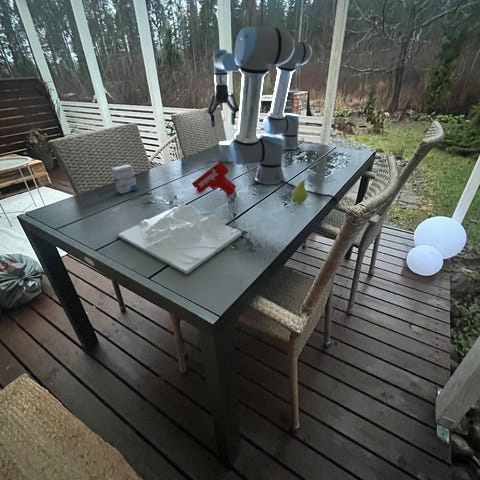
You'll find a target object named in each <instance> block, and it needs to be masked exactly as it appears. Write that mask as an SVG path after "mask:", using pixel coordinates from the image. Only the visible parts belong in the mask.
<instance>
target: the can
mask: <svg viewBox="0 0 480 480" xmlns="http://www.w3.org/2000/svg"><path fill="white" fill-rule="evenodd" d="M230 141H231V140H230ZM230 141H229V140H224V141H219V142H218V150H219V151H218V152H219V162H220V161H221V162H222V163H224V164H225V163H233V162H234V161H233V159H232V156H231V152H230Z"/></svg>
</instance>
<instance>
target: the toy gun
mask: <svg viewBox="0 0 480 480" xmlns="http://www.w3.org/2000/svg"><path fill="white" fill-rule="evenodd" d="M228 173H229V169H228V168H227V166H226V165H225V163H224V162H221V161H220V160H219V162H217V163H216V164H214V166H212V167H211V168H210V169H209V170H207V171H206V172H204V173H203V174H202V175H201V176H199V177H198V178H197V179H196V180H194V181H193V182H192V183H191V184H192V186H193V187H194V189H195V190H196V191H197V193H199V194H201V193H203V192H204V191H205V190H207V189H208V188H210V189H211V190H213V191H215V190H216V189H218V188H219V189H220V190H222V191H223V192H224V193H225V194H226V196H227V197H229V196H230V195H233V194H235V192H236V188H237V186H236V184H235V183H233V182H232V181H230V180H229V179H228V178H227V177H226V175H227V174H228Z"/></svg>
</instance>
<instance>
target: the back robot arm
mask: <svg viewBox="0 0 480 480" xmlns="http://www.w3.org/2000/svg"><path fill="white" fill-rule="evenodd" d="M293 41H294V52H293V55H292V57H291V58H290V59H289V61H287V62H286V63H284V64H280V65H275V66H276V70H277V75H276V81H275V85H274V92H273V97H272V102H271V107H270V111H268V112H267V116H266V117H264V118H263V119H262V120H263V121H262V127H263V131H264V132H265V134H274V135H281V137H282V138H283V151H284V150H285V151H295V150H298V149H299V148H300V143H304V142H305V141H306V140H305V138H304V137H301V138H300V140H299V127H300V115H299V114H296V113H290V112H289V113H288V112H285V107H286V102H287V97H288V93H289V89H290V84H291V79H292V75H293V73H294V72H295V71H296V69H297V66H303V65H305V64H307V63H308V62H309V61H310V59H311V57H312V53H313V49H312V46H311V45H310V43H308V42H306V41H295V40H293ZM240 81H241V82H242V77H241V78H240ZM294 148H295V149H294Z"/></svg>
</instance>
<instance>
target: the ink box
mask: <svg viewBox="0 0 480 480" xmlns="http://www.w3.org/2000/svg"><path fill="white" fill-rule="evenodd" d="M110 170H111V173H112V176H113V181H114V184H115V188H116V191H117V192H118V193H119V194H121V195H122V194H126V193H130V192H132V191H133V192H134V191H136V190H138V185H137V181H136V177H135V171H134V167H133V165H130V164H124V165H120V166H119V165H118V166H115V167H111V168H110Z"/></svg>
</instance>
